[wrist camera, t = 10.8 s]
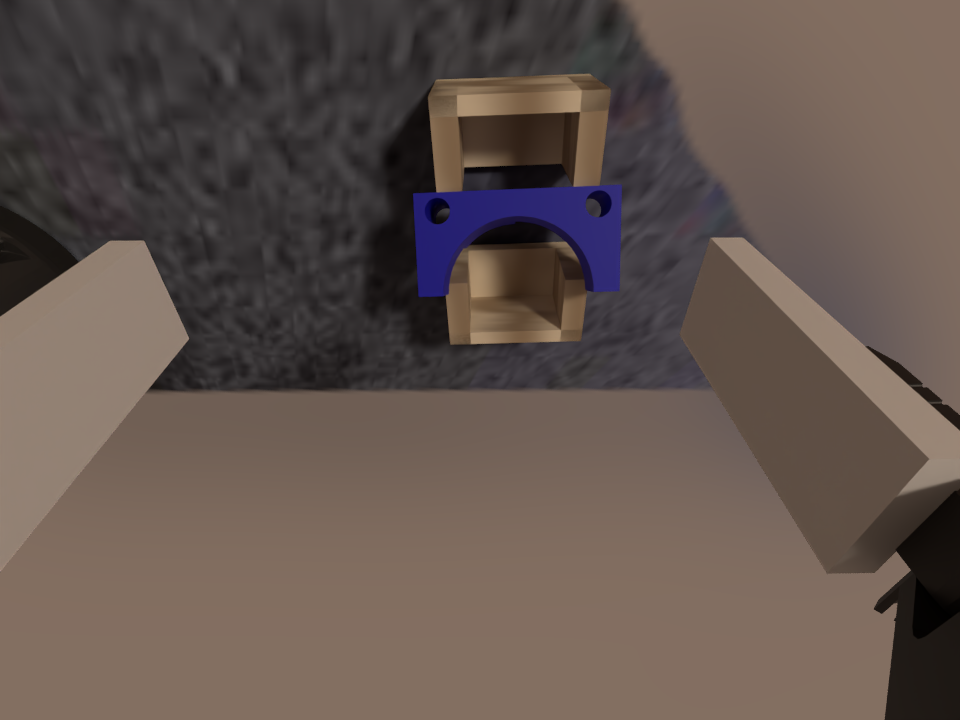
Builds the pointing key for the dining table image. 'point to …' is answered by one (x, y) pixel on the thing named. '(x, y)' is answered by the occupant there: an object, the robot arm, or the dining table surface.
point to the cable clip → (504, 207)
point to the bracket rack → (507, 142)
